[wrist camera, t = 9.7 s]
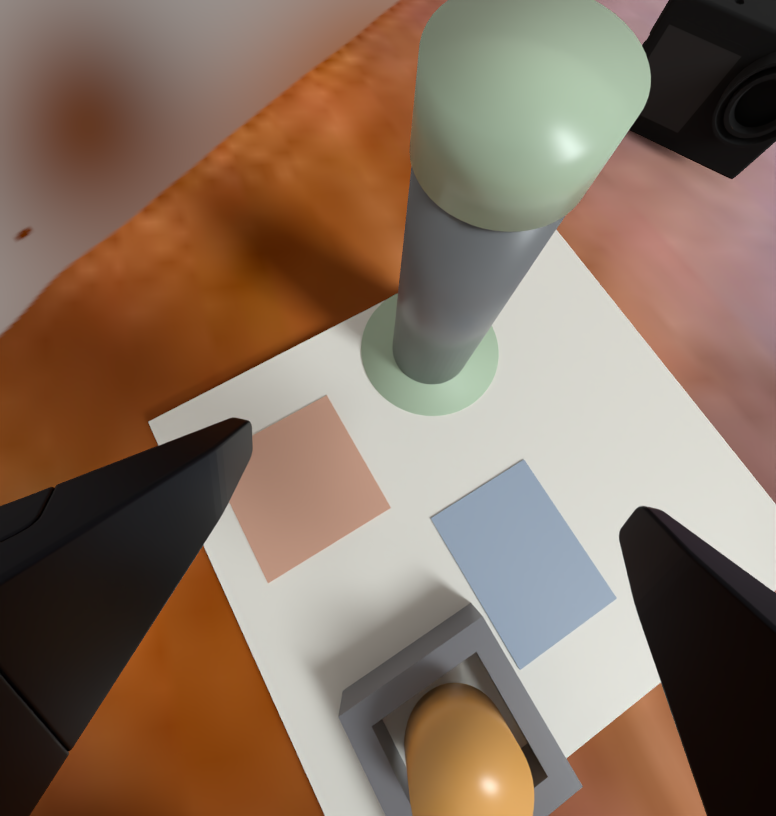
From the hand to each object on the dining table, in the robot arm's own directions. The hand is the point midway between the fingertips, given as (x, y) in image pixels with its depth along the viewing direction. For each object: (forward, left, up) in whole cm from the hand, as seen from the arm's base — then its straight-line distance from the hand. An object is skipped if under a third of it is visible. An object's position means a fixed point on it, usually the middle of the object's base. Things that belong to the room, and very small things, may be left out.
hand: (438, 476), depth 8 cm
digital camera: (+30, +12, -12) cm, 34 cm away
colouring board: (+3, -2, -11) cm, 12 cm away
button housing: (-4, -10, -11) cm, 15 cm away
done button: (-4, -10, -9) cm, 14 cm away
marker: (+5, +6, -11) cm, 13 cm away
